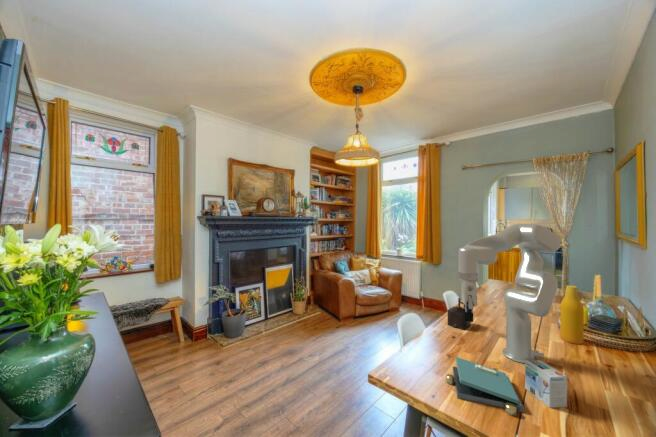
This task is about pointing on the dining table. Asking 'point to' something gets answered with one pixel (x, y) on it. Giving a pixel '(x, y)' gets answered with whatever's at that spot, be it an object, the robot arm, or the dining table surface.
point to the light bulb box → (546, 383)
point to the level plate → (486, 379)
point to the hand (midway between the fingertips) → (468, 319)
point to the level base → (482, 395)
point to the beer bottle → (572, 317)
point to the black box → (457, 317)
